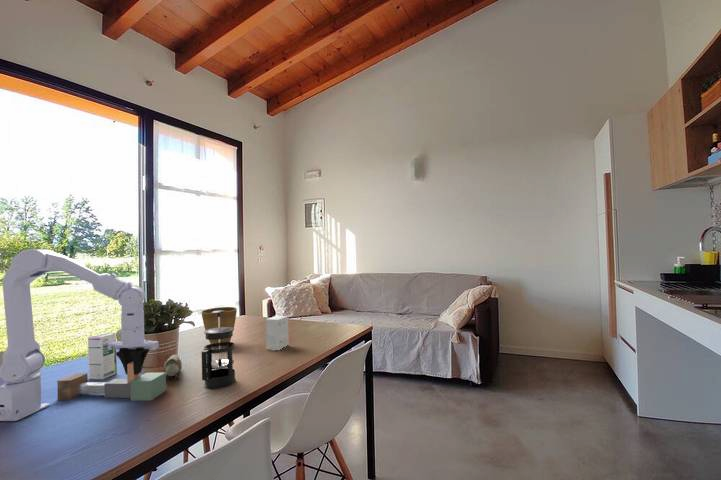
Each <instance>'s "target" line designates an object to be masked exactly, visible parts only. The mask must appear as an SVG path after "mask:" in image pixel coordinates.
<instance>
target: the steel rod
mask: <svg viewBox="0 0 721 480" xmlns="http://www.w3.org/2000/svg"><path fill="white" fill-rule="evenodd" d="M107 382H108V381H105V382H104V381H103V382H102V381H101V382H100V381H99V382H97V381H96V382H82V383H80V384H78V385H76V394H81V395H83V394H91V395H93V394H96V395H97V394H99V395H100V394H101V395H102V394H103V395H105V385H104V384H105V383H107Z"/></svg>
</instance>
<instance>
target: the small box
mask: <svg viewBox="0 0 721 480" xmlns="http://www.w3.org/2000/svg"><path fill="white" fill-rule="evenodd" d="M264 321H265V342H266V345H265V347H266V350H267V349H273V350H272V351H275V350H279V351H281V350H283V349H284V348H283V347H285V346H287V345H289V343H290V342H289V341H290V340H289V339H290V338H289V317H288V316H287V315H273V316H272V317H269V318H266V319H265V320H264ZM287 347H288V346H287ZM282 348H283V349H282ZM285 348H286V347H285ZM280 349H281V350H280Z"/></svg>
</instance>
